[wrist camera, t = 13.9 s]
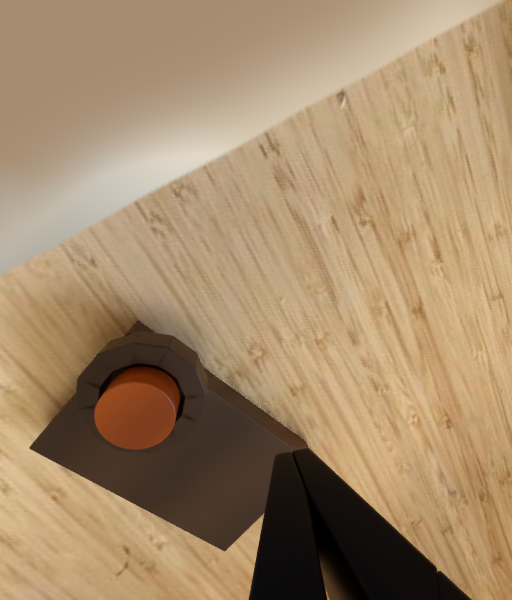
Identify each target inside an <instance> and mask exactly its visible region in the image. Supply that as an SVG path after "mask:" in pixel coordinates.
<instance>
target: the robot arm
mask: <svg viewBox="0 0 512 600" xmlns="http://www.w3.org/2000/svg"><path fill="white" fill-rule="evenodd" d="M324 585H325V586H324ZM325 587H326V590H327V593H328V596H329V599H330V600H472V599H470V598H469V597H468V596H467V595H466V594H465V593H464V592H463V591H462V590H460V589H459V588H458V587H457V586H456V585H455V584H454V583H453V582H452V581H451V580H450V579H449V578H448V577H447V576H446V575H445V574H443V573H442V572H441V571H438V572H437V568H436V566H435V565H434V564H433V563H431V562H430V561H429V560H428V559H427V558H426V557H425V556H424V555H423V554H422V553H421V552H420V551H419V550H418V549H416V548H415V547H414V546H413V545H412V544H411V543H410V542H409V541H408V540H407V539H406V538H405V537H404V536H403V535H401V534H400V533H399V532H398V531H397V530H396V529H395V528H394V527H393V526H392V525H391V524H390V523H389V522H388V521H386V520H385V519H384V518H383V517H382V516H381V515H380V514H379V513H378V512H377V511H376V510H375V509H374V508H373V507H371V506H370V505H369V504H368V503H367V502H366V501H365V500H364V499H363V498H362V497H361V496H360V495H359V494H358V493H356V492H355V491H354V490H353V489H352V488H351V487H350V486H349V485H348V484H347V483H346V482H345V481H344V480H343V479H341V478H340V477H339V476H338V475H337V474H336V473H335V472H334V471H333V470H332V469H331V468H330V467H329V466H328V465H326V464H325V463H324V462H323V461H322V460H321V459H320V458H319V457H318V456H317V455H316V454H315V453H314V452H313V451H311V450H310V449H309V448H307V447H304V448H300V449H295V450H293V451H292V452H291V451H285V452H281V453H277V454H276V455H275V458H274V464H273V469H272V475H271V480H270V485H269V491H268V496H267V502H266V507H265V513H264V518H263V524H262V529H261V535H260V540H259V546H258V551H257V557H256V562H255V568H254V573H253V579H252V584H251V590H250V595H249V600H327V596H326V591H325Z"/></svg>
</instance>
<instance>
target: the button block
mask: <svg viewBox="0 0 512 600" xmlns="http://www.w3.org/2000/svg"><path fill="white" fill-rule="evenodd" d="M138 366H148V367H153V368H157V369H159V370H161V371H163V372H165V373H166V374H168V375H169V376H170V377H171V378H172V379H173V380H174V382H175V383H176V385H177V387H178V390H179V394H180V402H179V407H178V411H177V416H176V420H175V424H174V427H173V429H172V431H171V432H170V434H169V435H168V436H167V437H166V438H165V439H164V440H163V441H161V442H160V443H158V444H157V445H154V446H152V447H149V448H145V449H137V450H135V449H125V448H121V447H118V446H116V445H114V444H112V443H110V442H109V441H107V440H106V439H105V438H104V437H103V436H102V435H101V433H100V432H99V431H98V429H97V426H96V423H95V418H94V412H95V407H96V404H97V402H98V400H99V399H100V397H101V396H102V394H103V393H104V391H105V390H106V388H107V387H108V385H109V384H110V382H111V381H112V380H113V378H115V377H116V376H117V375H118V374H119V373H121V372H122V371H124V370H126V369H129V368H132V367H138ZM304 447H307V448H308V445H307V443H306V442H305V441H304V440H302V439H301V438H300V437H298V436H297V435H296V434H294V433H293V432H291V431H290V430H289V429H287V428H286V427H285V426H283V425H282V424H280V423H279V422H278V421H276V420H275V419H274V418H272V417H271V416H269V415H268V414H267V413H265V412H264V411H263V410H261V409H260V408H258V407H257V406H256V405H254V404H253V403H252V402H250V401H249V400H247V399H246V398H245V397H243V396H242V395H241V394H239V393H238V392H236V391H235V390H234V389H232V388H231V387H229V386H228V385H227V384H225V383H224V382H223V381H221V380H220V379H218V378H217V377H216V376H214V375H213V374H212V373H210V372H209V371H207V370H206V369H205V368H203V366H202V363H201V361H200V358H199V356H198V354H197V353H196V352H195V351H193V350H192V349H190V348H189V347H188V346H186V345H185V344H184V343H182V342H181V341H180V340H178V339H177V338H176V337H174V336H171V335H165V334H158V333H155V332H154V331H152V330H151V329H150V328H148V327H147V326H145V325H144V324H143V323H141V322H140V321H137V322H136V323H135V324H134V326H133V327H132V328H131V329H130V330H129V331H128V333H127V334H126V335H125V336H123V337H120V338H117V339H114V340H111V341H110V342H109V343H108V344H107V345H106V346H105V347H104V348H103V349H102V350H101V351H100V353H99V354H98V355H97V356H96V357H95V358H94V359H93V361H92V362H91V363H90V364H89V365H88V366H87V368H86V369H85V370H84V371H83V372H82V373H81V375H80V376H79V377H78V380H77V390H76V393H75V394H74V395H73V397H72V398H71V399H70V400H69V401H68V402H67V404H66V405H65V406H64V407H63V408H62V409H61V411H60V412H59V413H58V414H57V415H56V416H55V418H54V419H53V420H52V421H51V422H50V423H49V425H48V426H47V427H46V428H45V429H44V431H43V432H42V433H41V434H40V435H39V436H38V438H37V439H36V440H35V441H34V442H33V444H32V445H31V446H30V449H31V450H33V451H35V452H37V453H39V454H41V455H42V456H44V457H46V458H48V459H50V460H52V461H54V462H56V463H58V464H60V465H61V466H63V467H65V468H67V469H69V470H71V471H73V472H75V473H77V474H79V475H80V476H82V477H84V478H86V479H88V480H90V481H92V482H94V483H96V484H98V485H99V486H101V487H103V488H105V489H107V490H109V491H111V492H113V493H115V494H117V495H118V496H120V497H122V498H124V499H126V500H128V501H130V502H132V503H134V504H136V505H137V506H139V507H141V508H143V509H145V510H147V511H149V512H151V513H153V514H155V515H156V516H158V517H160V518H162V519H164V520H166V521H168V522H170V523H172V524H174V525H175V526H177V527H179V528H181V529H183V530H185V531H187V532H189V533H191V534H193V535H195V536H196V537H198V538H200V539H202V540H204V541H206V542H208V543H210V544H212V545H214V546H215V547H217V548H219V549H221V550H223V551H226V550H227V549H228V548H229V547H230V546H231V545H232V544H233V543H234V542H235V541H236V540H237V539H238V538H239V537H240V536H241V535H242V534H243V533H244V532H245V531H246V530H247V529H248V528H249V527H250V526H251V525H252V524H253V523H254V522H256V521H257V520H258V519H259V518H260V517H261V516H262V515H263V514H264V513H265V507H266V502H267V496H268V491H269V485H270V480H271V475H272V469H273V464H274V458H275V455H276V454H277V453H281V452H285V451H291V452H292V451H293V450H295V449H300V448H304Z"/></svg>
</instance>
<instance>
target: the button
mask: <svg viewBox="0 0 512 600" xmlns="http://www.w3.org/2000/svg"><path fill="white" fill-rule="evenodd" d="M179 402H180V394H179V390H178V387H177V385H176V383H175V382H174V380H173V379H172V378H171V377H170V376H169V375H168V374H166V373H165V372H163V371H161V370H159V369H157V368H153V367H148V366H138V367H132V368H129V369H126V370H124V371H122V372H121V373H119V374H118V375H117V376H116V377H115V378H113V380H112V381H111V382H110V384H109V385H108V387H107V388H106V390H105V391H104V393H103V394H102V396H101V397H100V399H99V400H98V402H97V404H96V407H95V412H94V418H95V423H96V426H97V429H98V431H99V432H100V433H101V435H102V436H103V437H104V438H105V439H106V440H107V441H109V442H110V443H112V444H114V445H116V446H118V447H121V448H125V449H135V450H137V449H145V448H149V447H152V446H154V445H157V444H158V443H160V442H161V441H163V440H164V439H165V438H166V437H167V436H168V435H169V434H170V432H171V431H172V429H173V427H174V424H175V420H176V416H177V411H178V407H179Z"/></svg>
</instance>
